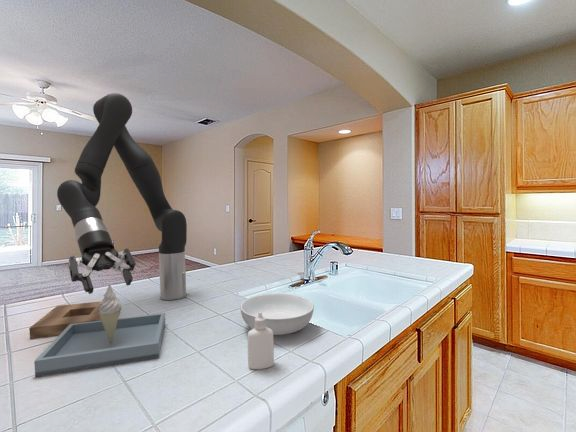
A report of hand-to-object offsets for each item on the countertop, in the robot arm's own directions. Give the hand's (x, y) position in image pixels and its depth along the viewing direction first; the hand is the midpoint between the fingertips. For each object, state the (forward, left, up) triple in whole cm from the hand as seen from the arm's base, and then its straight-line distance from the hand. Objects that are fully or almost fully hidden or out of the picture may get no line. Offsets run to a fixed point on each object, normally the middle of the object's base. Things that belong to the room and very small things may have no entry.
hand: (111, 287), depth 75 cm
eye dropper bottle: (-33, +20, -16) cm, 42 cm away
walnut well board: (+14, -22, -15) cm, 30 cm away
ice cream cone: (+1, -1, -15) cm, 15 cm away
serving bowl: (-42, +2, -16) cm, 45 cm away
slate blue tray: (+1, -1, -15) cm, 15 cm away
